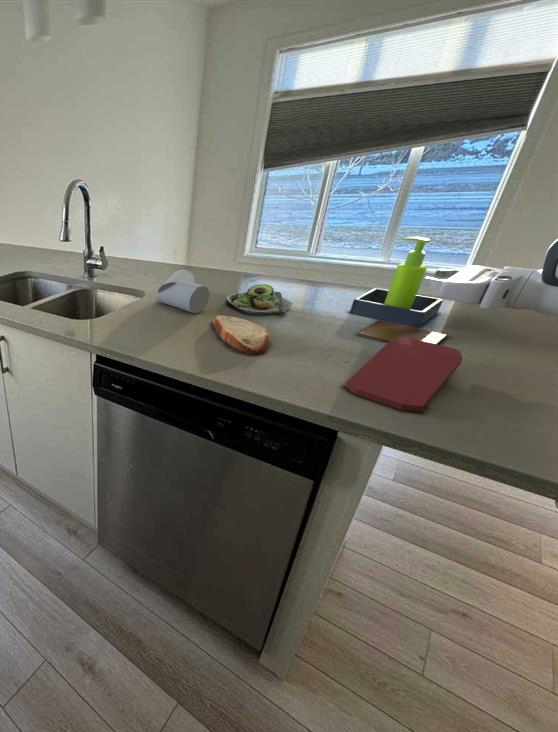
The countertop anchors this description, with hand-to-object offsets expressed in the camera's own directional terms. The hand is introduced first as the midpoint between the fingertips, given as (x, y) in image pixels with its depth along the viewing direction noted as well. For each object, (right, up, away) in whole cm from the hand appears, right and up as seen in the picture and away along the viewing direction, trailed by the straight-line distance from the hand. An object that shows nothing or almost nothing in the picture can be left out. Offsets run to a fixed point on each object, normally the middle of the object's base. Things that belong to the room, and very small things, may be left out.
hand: (429, 276), depth 102 cm
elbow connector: (-53, -1, +30) cm, 61 cm away
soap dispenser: (-2, -8, +9) cm, 12 cm away
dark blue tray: (-2, -8, +9) cm, 12 cm away
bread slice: (-47, -15, +4) cm, 50 cm away
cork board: (-10, -16, -3) cm, 19 cm away
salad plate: (-32, -3, +22) cm, 39 cm away
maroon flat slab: (-24, -27, -19) cm, 41 cm away
